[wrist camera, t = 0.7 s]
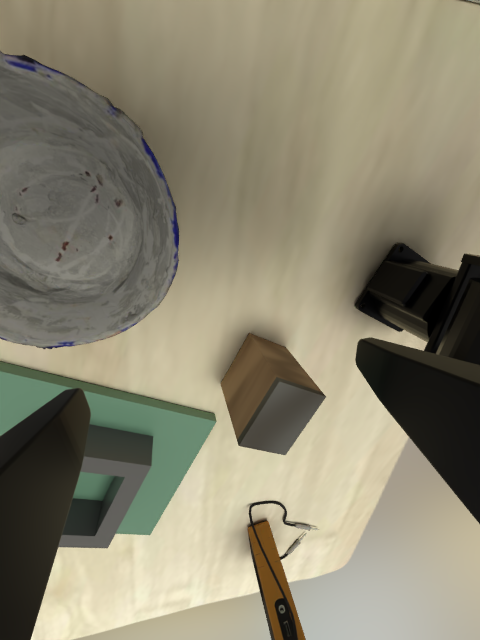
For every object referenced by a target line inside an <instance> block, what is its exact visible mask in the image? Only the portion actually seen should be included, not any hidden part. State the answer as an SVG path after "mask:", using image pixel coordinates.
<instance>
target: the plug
mask: <svg viewBox="0 0 480 640" xmlns="http://www.w3.org/2000/svg"><path fill="white" fill-rule="evenodd" d="M221 387H222V390H223V394H224V397H225V401H226V404H227V407H228V411H229V414H230V418H231V421H232V424H233V428H234V431H235V435H236V438H237V441H238V445H239V446H242V447H247V448H252V449H257V450H262V451H267V452H272V453H277V454H282V455H286V454H287V452H288V451H289V449H290V448H291V446H292V445H293V444H294V442H295V441H296V439H297V438H298V436H299V435H300V433H301V432H302V431H303V429H304V428H305V426H306V425H307V423H308V422H309V421H310V419H311V418H312V416H313V415H314V413H315V412H316V411H317V409H318V408H319V406H320V405H321V403H322V402H323V401H324V399H325V398H326V396H325V395H324V394H323V393H322V391H321V390H320V389H319V388H318V386H317V385H316V384H315V383H314V381H313V380H312V379H311V378H310V377H309V375H308V374H307V373H306V372H305V370H304V369H303V368H302V367H301V365H300V364H299V363H298V362H297V361H296V359H295V358H294V357H293V356H292V354H291V353H290V352H289V351H288V349H287V348H286V347H283V346H281V345H278V344H276V343H273V342H271V341H268V340H266V339H263V338H261V337H258V336H255V335H253V334H250V333H249V334H248V336H247V338H246V340H245V341H244V343H243V345H242V347H241V348H240V350H239V352H238V354H237V356H236V357H235V359H234V361H233V363H232V364H231V366H230V368H229V370H228V372H227V373H226V375H225V377H224V379H223V380H222V382H221Z"/></svg>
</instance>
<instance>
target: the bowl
mask: <svg viewBox="0 0 480 640" xmlns="http://www.w3.org/2000/svg"><path fill="white" fill-rule="evenodd" d="M178 245H179V228H178V223H177V215H176V206H175V204H174V202H173V199H172V196H171V193H170V190H169V188H168V185H167V182H166V179H165V176H164V174H163V172H162V170H161V168H160V166H159V164H158V162H157V160H156V158H155V156H154V154H153V152H152V151H151V149H150V148H149V146H148V145H147V143H146V142H145V140H144V139H143V135H142V131H141V129H140V128H139V127H138V126H137V125H136V124H135V123H134V122H133V121H132V120H131V119H129V118H128V117H127V115H126V114H125V113H124V112H123V111H121V110H120V109H118V108H115V107H114V106H113V105H112V104H111V102H110V101H109V100H108V98H106V97H104V96H101V95H98V94H97V93H95V92H94V91H92V90H91V89H89V88H88V87H86V86H85V85H84V84H82V83H80V82H78V81H77V80H75V79H73V78H72V77H70V76H68V75H66V74H63V73H61V72H59V71H57V70H54V69H52V68H49V67H47V66H44V65H42V64H40V63H39V62H37V61H36V60H34V59H32V58H29V57H27V56H25V55H22V56H17V55H7V54H3V53H2V52H1V51H0V338H1V339H3V340H6V341H10V342H13V343H18V344H23V345H30V346H36V347H39V348H43V349H45V348H48V349H52V348H53V347H55V348H58V347H64V346H75V345H81V344H86V343H92V342H95V341H99V340H103V339H106V338H109V337H112V336H115V335H117V334H119V333H121V332H124V331H126V330H127V329H129V328H131V327H132V326H134V325H135V324H137V323H138V322H139V321H141V320H142V319H143V318H145V317H146V316H147V315H148V314H149V313H150V312H151V311H152V310H154V309H155V308H156V307H157V306H158V305H159V304H160V303H161V301H162V300H163V299H164V297H165V296H166V294H167V292H168V290H169V287H170V286H171V284H172V281H173V279H174V276H175V274H176V271H177V266H178V261H179V260H178Z"/></svg>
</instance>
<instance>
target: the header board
mask: <svg viewBox="0 0 480 640" xmlns="http://www.w3.org/2000/svg"><path fill="white" fill-rule="evenodd" d="M73 388H81V389H82V390H83V391H84V394H85V396H86V399H87V402H88V404H89V407H90V411H91V419H90V424H89V430H88V436H87V441H86V447H85V453H84V459H83V463H82V468H81V472H80V475H79V479H78V482H77V485H76V489H75V492H74V495H73V499H72V502H71V506H70V509H69V512H68V516H67V519H66V522H65V526H64V529H63V532H62V536H61V539H60V542H59V546H58V547H78V548H108V547H109V545H110V543H111V541H112V539H113V537H114V535H115V534H137V535H150V534H151V533H152V531H153V529H154V527H155V526H156V524H157V522H158V521H159V519H160V517H161V515H162V514H163V512H164V510H165V509H166V507H167V505H168V504H169V502H170V500H171V498H172V497H173V495H174V493H175V492H176V490H177V488H178V486H179V485H180V483H181V481H182V480H183V478H184V476H185V474H186V473H187V471H188V469H189V468H190V466H191V464H192V462H193V461H194V459H195V457H196V456H197V454H198V452H199V450H200V449H201V447H202V445H203V444H204V442H205V440H206V439H207V437H208V435H209V433H210V432H211V430H212V428H213V427H214V425H215V423H216V418H215V414H213V413H209V412H205V411H201V410H197V409H193V408H188V407H184V406H180V405H176V404H172V403H168V402H164V401H160V400H156V399H152V398H147V397H143V396H139V395H135V394H131V393H127V392H123V391H119V390H115V389H111V388H107V387H102V386H98V385H94V384H90V383H86V382H82V381H78V380H74V379H70V378H66V377H61V376H57V375H53V374H49V373H45V372H41V371H37V370H33V369H29V368H25V367H21V366H16V365H12V364H8V363H4V362H0V436H1V435H2V434H4V433H5V432H7V431H8V430H10V429H11V428H12V427H14V426H15V425H17V424H18V423H19V422H21V421H22V420H24V419H25V418H26V417H28V416H29V415H31V414H32V413H33V412H35V411H36V410H38V409H39V408H40V407H42V406H43V405H45V404H46V403H47V402H49V401H50V400H52V399H53V398H54V397H56V396H57V395H59V394H60V393H62V392H63V391H64V390H67V389H73Z"/></svg>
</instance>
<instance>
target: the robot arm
mask: <svg viewBox="0 0 480 640" xmlns="http://www.w3.org/2000/svg"><path fill="white" fill-rule="evenodd" d="M399 248H400V249H399ZM398 249H399V251H398ZM461 262H462V264H461V266H460V269H459V270H455V269H450V268H446V267H442V266H438V265H434V264H431V263H429V262H428V261H427V260H425V259H424V258H423V257H421V256H420V255H418V254H417V253H416V252H414V251H413V250H412V249H410V248H409V247H408V246H406V245H405V244H403V243H397V244H395V245H394V246H393V248H392V249H391V251H390V252H389V254H388V255H387V257H386V258H385V260H384V261H383V263H382V264H381V266H380V268H379V269H378V271H377V272H376V274H375V275H374V277H373V278H372V280H371V281H370V283H369V284H368V286H367V287H366V289H365V290H364V292H363V293H362V295H361V296H360V298H359V299H358V301H357V302H356V305H355V307H356V309H358V310H359V311H361V312H363V313H365V314H367V315H369V316H371V317H372V318H374V319H376V320H378V321H380V322H382V323H384V324H386V325H387V326H389V327H391V328H393V329H395V330H397V331H399V332H400V331H403V330H406V331H408V332H409V333H411V334H413V335H415V336H417V337H419V338H421V339H422V340H424V341H426V342H428V343H427V345H426V347H425V349H424V351H422V350H418V349H414V348H410V347H406V346H402V345H398V344H395V343H391V342H387V341H383V340H379V339H375V338H365V339H360V340H359V342H358V345H357V352H356V365H357V367H358V368H359V370H360V371H361V373H362V375H363V376H364V378H365V379H366V381H367V382H368V384H369V385H370V387H371V388H372V390H373V391H374V393H375V394H376V396H377V397H378V399H379V400H380V401H381V403H382V404H383V405H384V407H385V408H386V409H387V410H388V412H389V413H390V414H391V415H392V416H393V418H394V419H395V420H396V421H397V423H398V424H399V425H400V426H401V428H402V429H403V430H404V431H405V432H406V434H407V435H408V436H409V437H410V439H412V441H413V442H414V444H415V445H416V446H417V447H418V448H419V450H420V451H421V452H422V453H423V455H424V456H425V457H426V458H427V460H428V461H429V462H430V463H431V464H432V466H433V467H434V468H435V469H436V471H437V472H438V473H439V474H440V476H441V477H442V478H443V479H444V480H445V482H446V483H447V484H448V485H449V487H450V488H451V489H452V490H453V492H454V493H455V494H456V495H457V497H458V498H459V499H460V500H461V501H462V502H463V504H464V505H465V506H466V508H467V509H468V510H469V511H470V513H471V514H472V515H473V516H474V517H475V519H476V520H477V521H478V522H479V524H480V255H471V254H464V255H463V258H462V260H461ZM362 304H363V305H362ZM361 305H362V306H361ZM90 419H91V411H90V407H89V404H88V402H87V399H86V396H85V394H84V391H83V390H82V389H81V388H73V389H67V390H64V391H63V392H62V393H60V394H59V395H57V396H56V397H54V398H53V399H52V400H50V401H49V402H47V403H46V404H45V405H43V406H42V407H40V408H39V409H38V410H36V411H35V412H33V413H32V414H31V415H29V416H28V417H26V418H25V419H24V420H22V421H21V422H19V423H18V424H17V425H15V426H14V427H12V428H11V429H10V430H8V431H7V432H5V433H4V434H2V435H1V436H0V640H31V637H32V633H33V630H34V626H35V623H36V620H37V616H38V613H39V610H40V606H41V603H42V600H43V596H44V593H45V590H46V586H47V583H48V579H49V576H50V573H51V569H52V566H53V563H54V559H55V556H56V553H57V549H58V546H59V542H60V539H61V536H62V532H63V529H64V526H65V522H66V519H67V516H68V512H69V509H70V506H71V502H72V499H73V495H74V492H75V489H76V485H77V482H78V479H79V475H80V472H81V468H82V463H83V459H84V453H85V447H86V441H87V436H88V430H89V424H90Z"/></svg>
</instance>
